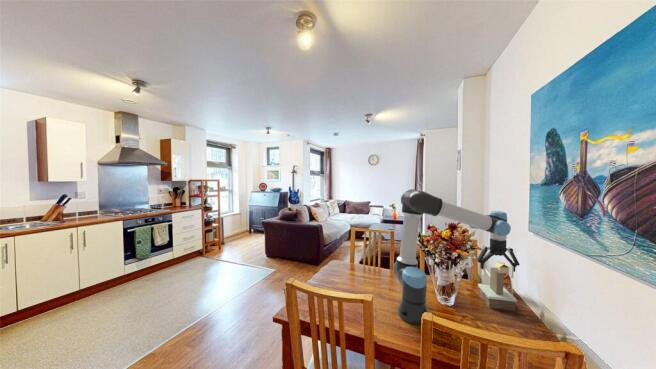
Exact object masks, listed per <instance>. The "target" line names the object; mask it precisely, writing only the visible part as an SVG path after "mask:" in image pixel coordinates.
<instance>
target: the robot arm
mask: <svg viewBox="0 0 656 369" xmlns="http://www.w3.org/2000/svg"><path fill="white" fill-rule="evenodd" d="M400 203H401V205H402V206H401V214H403V221H402V223H403V224H402V231H401V242H400V248H399V249H400V251H399V255H398V256H397V257H396V261H395V262H394V264H393V268H392V269H393V270H392V271H393V274H394V276H395V278H396V279H397V281H398V282H399V284H400V285H401V300H400V303H399V306H398V309H397V310H398V312H397V314H398V316H399V318H401V320H403V321H404V322H407V323H409V324H411V325H418V326H422V325H421V317H422V314H423V313H424V312H429V313H430V311H429V308H428V305H427V284H428V278H427V274H426V272H425V271H424V270H423V269H421V268H419V267H418V265H419V264H418V263H419V261H418V260H417V259H416V258H417V247H418V240H419V239H418V238H419V229H420V221H421V220H420V219H421V218H422V216H423V215H424V214H425V215H430V216H432V217H437V216H438V217H442V218H445V219H449V220H451V221H454V222H458V223H461V224H463V225H466V226H469V228H471V229H474V230H475V229H476V230H477V229H479V230H482V231H485V232H488V233H489V237H490V238H489V246H485V245H483V246H482V247H483V248H482V250H481V252H480V254H478V257H477V258H476V261H477V262H478V263H479V266H480V269H481V275H482V276H485V277H486V267H487V264H486V263H487V262H488V260H490V259H491V257H493V256H499V257H502V256H503V257H504V258H505V259H506V261H507V262H509V266H508V267H509V276H510V277H511V279H514V272H516V268H517V266H520V265H521V264H520V262H519V260H518V258H517V256H516V255H515V253H514V249H513V248H512V247H507V236H508V235H509V234H511V230H512V227H511V224H510V223H509V222H508V213H507V212H504V211H501V210H492V211H490V214H486V215H485V214H482V213H481V212H477V211H473V210H470V209H467V208H464V207H461V206H458V205H455V204H453V203H449V202H446V201H444V200H443V199H442V198H441V197H438V196H435V195H432V194H431V193H428V192H426V191H424V190H423V191H422V190H420V189H419V190H417V189H407V190H405V191H404V192H402V194H401V196H400ZM506 252H508V254H509V255H510V257H511V258H510V257H509V256H508V255H507V253H506Z"/></svg>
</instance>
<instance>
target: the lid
mask: <svg viewBox="0 0 656 369" xmlns="http://www.w3.org/2000/svg"><path fill="white" fill-rule="evenodd" d="M489 274H490V275H489V284H486V283H485V284H484V283H478V284H477V286H478V288H479V287H480V289H481V290H482V291H483V292H484V293H485V294H486V296H487V297H488V298H489V299H497V300H505V301H514V302H515V303H517V302H518V299H517V298H516V297H515V296H514V294H513V295H511V294H510V293H509V292H508V291H507V290H506V289H505V288H504V287H503V281H504V273H502V272H501V271H500V270H499V269H497V268H494V267H493V266H491V267H490V271H489Z"/></svg>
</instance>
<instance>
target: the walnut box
mask: <svg viewBox="0 0 656 369" xmlns="http://www.w3.org/2000/svg"><path fill="white" fill-rule="evenodd" d="M478 295H479V296H480V298H481V299H482V300H483V303H485V305H486V306H487V307H488V308H490V309H498V310H505V311H513V312H515V311H516V302H514V301H505V300H497V299H489V298H488V297H487V296H486V294H485V293H484V292H483V291H482V290H481V289H480V287H479V286H478Z"/></svg>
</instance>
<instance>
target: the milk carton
mask: <svg viewBox="0 0 656 369" xmlns="http://www.w3.org/2000/svg"><path fill="white" fill-rule="evenodd" d="M505 263H506V262H504V261H503V262H501V261H499V260H496V263H495V264H494V265H493V268H497V269H499V270H500V271H501V272H502V273H504V281H503V287H504V288H505V289H506V290H507V291H508V292H509V293H510V294H511V295H513V296H514V292H513V285H512V278H511V277H510V276H509V266H508V265H506V264H505Z"/></svg>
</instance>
